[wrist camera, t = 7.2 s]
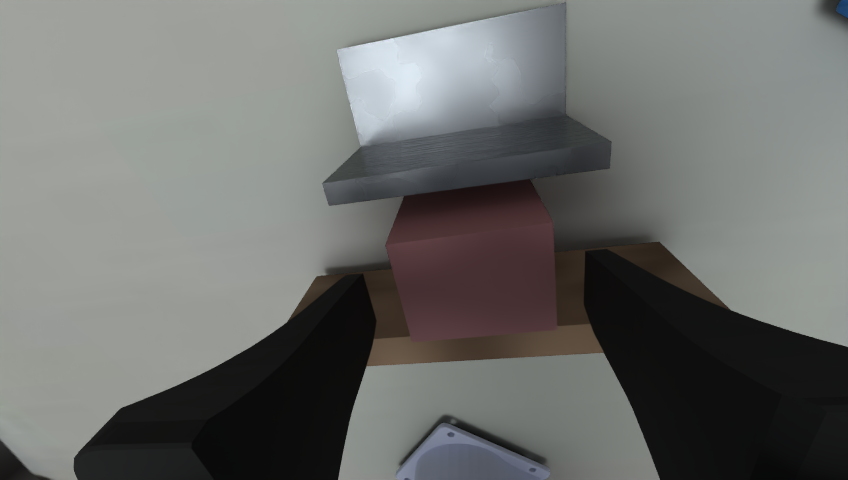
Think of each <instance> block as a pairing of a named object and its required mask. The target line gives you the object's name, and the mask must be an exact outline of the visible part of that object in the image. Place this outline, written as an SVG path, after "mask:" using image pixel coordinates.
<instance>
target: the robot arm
mask: <svg viewBox="0 0 848 480" xmlns="http://www.w3.org/2000/svg"><path fill="white" fill-rule="evenodd" d="M584 307H585V310H586V313H587V316H588V319H589V322H590V324H591V327H592V330H593V332H594V334H595V336H596V338H597V340H598V342H599V344H600V346H601V348H602V350H603V352H604V354H605V356H606V358H607V359H608V361H609V363H610V365H611V367H612V369H613V371H614V373H615V375H616V377H617V378H618V380H619V382H620V384H621V386H622V388H623V390H624V392H625V394H626V396H627V398H628V400H629V402H630V404H631V406H632V408H633V411H634V413H635V416H636V418H637V421H638V423H639V426H640V428H641V431H642V433H643V436H644V438H645V441H646V443H647V446H648V449H649V451H650V454H651V456H652V459H653V462H654V464H655V467H656V470H657V472H658V475H659V478H660V480H848V347H846V346H842V345H838V344H835V343H831V342H827V341H823V340H819V339H816V338H813V337H809V336H806V335H802V334H799V333H795V332H792V331H789V330H786V329H783V328H780V327H777V326H774V325H771V324H768V323H764V322H761V321H758V320H756V319H753V318H750V317H747V316H744V315H742V314H739V313H736V312H734V311H731V310H729V309H726V308H724V307H721V306H719V305H716V304H714V303H711V302H709V301H707V300H704V299H702V298H700V297H698V296H695V295H693V294H691V293H689V292H687V291H685V290H683V289H681V288H679V287H677V286H675V285H673V284H671V283H669V282H667V281H665V280H663V279H661V278H659V277H657V276H655V275H653V274H652V273H650V272H648V271H646V270H644V269H642V268H641V267H639V266H637V265H635V264H634V263H632V262H630V261H628V260H626V259H625V258H623V257H621V256H619V255H618V254H616V253H614V252H612V251H610V250H608V249H599V250H589V251H585V273H584ZM376 322H377V320H376V316H375V313H374V309H373V306H372V303H371V299H370V296H369V292H368V289H367V285H366V282H365V279H364V275H363V273H361V274H351V275H345V276H344V277H342V278H341V279H340V280H338V281H337V282H336V283H335V284H334V285H332V286H331V287H330V288H329V289H328V290H326V291H325V292H324V293H323V294H322V295H320V296H319V297H318V298H317V299H316V300H314V301H313V302H312V303H311V304H310V305H308V306H307V307H306V308H305V309H304V310H302V311H301V312H300V313H298V314H297V315H296V316H294V317H293V318H292V319H291V320H289V321H288V322H287V323H285V324H284V325H283V326H282V327H280V328H279V329H277V330H276V331H274V332H273V333H272V334H270V335H269V336H267V337H266V338H264V339H263V340H261V341H259V342H258V343H256V344H255V345H253V346H252V347H250V348H248V349H247V350H245V351H243V352H241V353H240V354H238V355H236V356H234V357H233V358H231V359H229V360H227V361H225V362H224V363H222V364H220V365H218V366H216V367H214V368H213V369H211V370H209V371H207V372H205V373H203V374H200V375H198V376H196V377H194V378H192V379H190V380H188V381H186V382H184V383H181V384H179V385H177V386H175V387H172V388H170V389H168V390H165V391H163V392H160V393H158V394H155V395H153V396H151V397H148V398H146V399H143V400H141V401H138V402H136V403H133V404H131V405H128V406H125V407H123V408H121V409H120V410H119V411H117V413H116V414H115V415H114V416H113V417H112V418H111V419H110V420H109V421H108V422H107V423H106V424H105V425H104V426H103V427H102V428H101V429H100V430H99V431H98V432H97V433H96V434H95V435H94V437H93V438H92V439H91V440H90V441H89V442H88V443H87V444H86V445H85V446H84V447H83V448H82V449H81V450H80V451H79V452H78V454H77V455H76V456H75V458H74V472H75V474H76V477H77V479H78V480H338V476H339V471H340V465H341V460H342V455H343V449H344V445H345V440H346V435H347V430H348V426H349V421H350V417H351V413H352V410H353V406H354V403H355V400H356V397H357V394H358V390H359V387H360V384H361V381H362V378H363V375H364V372H365V369H366V366H367V363H368V359H369V356H370V353H371V350H372V346H373V341H374V335H375V329H376ZM549 476H550V470H549V468H548V467H546V466H544V465H542V464H540V463H537V462H535V461H533V460H530V459H528V458H526V457H524V456H521V455H519V454H517V453H514V452H512V451H510V450H507V449H505V448H503V447H501V446H498V445H496V444H494V443H491V442H489V441H487V440H485V439H482V438H480V437H478V436H475V435H473V434H471V433H469V432H466V431H464V430H462V429H459V428H457V427H455V426H453V425H450V424H448V423H441V424H440V425H439V426H438V427H437V428H436V429H435V430H434V431H433V432H432V433H431V434H430V435H429V436H428V438H427V439H426V440H425V441H424V442H423V443H422V444H421V445H420V446H419V447H418V448H417V450H416V451H415V452H414V453H413V454H412V455H411V456H410V457H409V458H408V459H407V460H406V462H405V463H404V464H403V465H402V466H401V467H400V468H399V469H398V470H397V472H396V478H397V479H398V480H545V479H546V478H548V477H549Z"/></svg>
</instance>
